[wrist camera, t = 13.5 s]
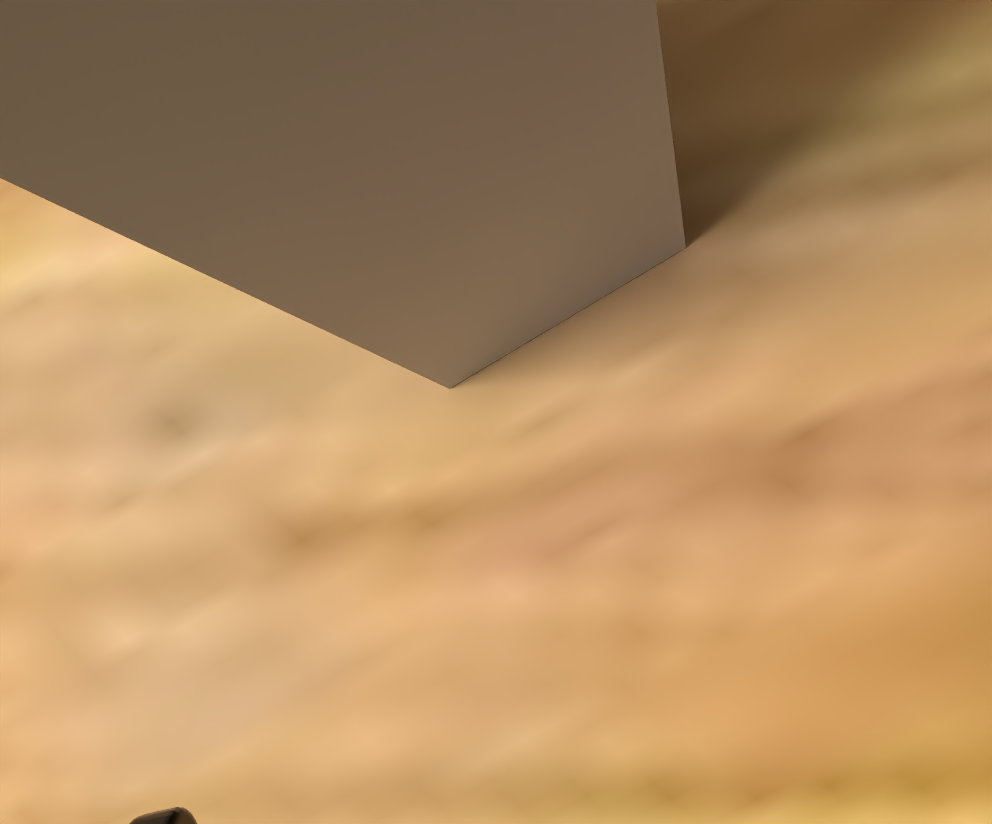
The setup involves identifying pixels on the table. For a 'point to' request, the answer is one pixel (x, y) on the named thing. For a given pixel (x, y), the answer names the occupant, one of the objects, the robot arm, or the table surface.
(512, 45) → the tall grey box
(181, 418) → the table surface
